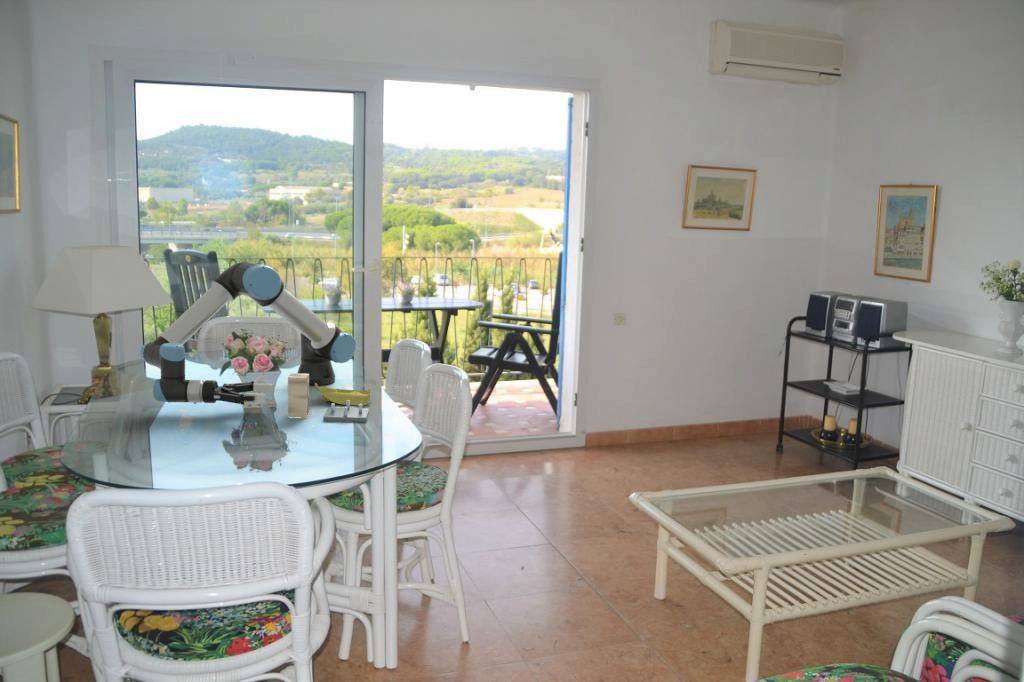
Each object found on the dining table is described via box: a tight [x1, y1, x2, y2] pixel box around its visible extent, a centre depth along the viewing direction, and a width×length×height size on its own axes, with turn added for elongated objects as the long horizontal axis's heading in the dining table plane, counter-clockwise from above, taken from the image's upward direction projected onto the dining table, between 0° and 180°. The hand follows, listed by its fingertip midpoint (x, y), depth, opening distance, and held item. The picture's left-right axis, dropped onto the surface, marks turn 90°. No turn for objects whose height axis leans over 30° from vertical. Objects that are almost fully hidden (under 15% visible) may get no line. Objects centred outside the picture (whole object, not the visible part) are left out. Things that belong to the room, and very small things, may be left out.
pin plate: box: [323, 400, 370, 423], centre depth 277 cm, size 12×14×4 cm
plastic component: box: [314, 383, 371, 407], centre depth 296 cm, size 20×7×10 cm
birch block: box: [287, 372, 310, 419], centre depth 274 cm, size 6×6×14 cm
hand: (269, 393), depth 273 cm, fingers open, 13 cm apart
